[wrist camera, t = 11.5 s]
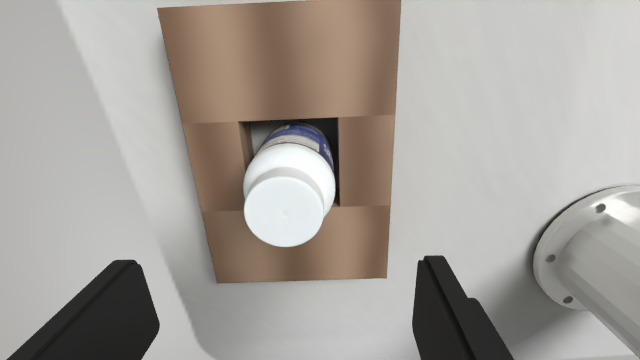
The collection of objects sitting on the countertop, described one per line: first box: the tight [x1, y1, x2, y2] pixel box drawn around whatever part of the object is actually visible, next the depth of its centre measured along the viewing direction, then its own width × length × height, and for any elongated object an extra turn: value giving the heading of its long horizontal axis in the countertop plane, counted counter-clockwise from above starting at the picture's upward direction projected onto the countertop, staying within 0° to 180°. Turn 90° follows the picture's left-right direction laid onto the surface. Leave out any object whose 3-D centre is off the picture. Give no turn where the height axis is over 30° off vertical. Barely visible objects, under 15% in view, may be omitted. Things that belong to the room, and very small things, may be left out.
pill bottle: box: [243, 122, 335, 247], centre depth 19 cm, size 5×5×10 cm
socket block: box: [157, 0, 401, 283], centre depth 22 cm, size 14×20×3 cm
